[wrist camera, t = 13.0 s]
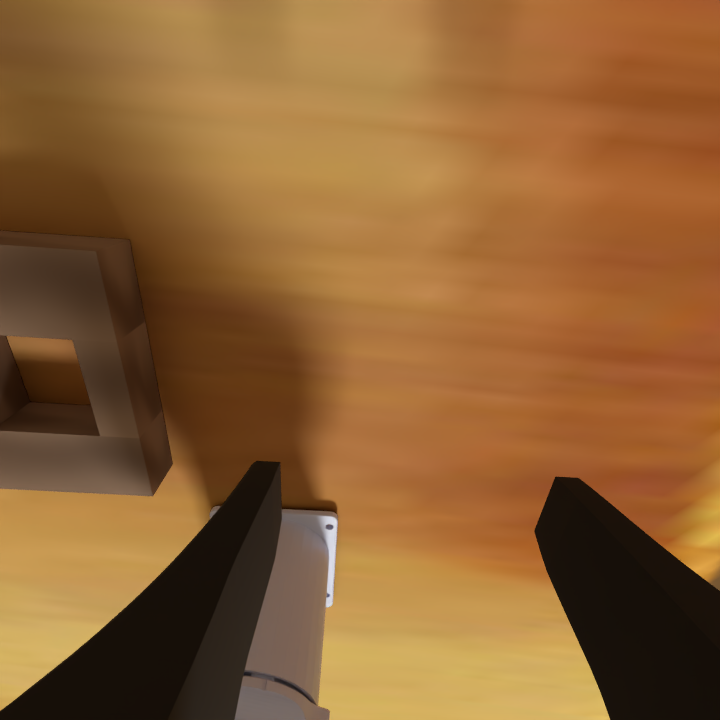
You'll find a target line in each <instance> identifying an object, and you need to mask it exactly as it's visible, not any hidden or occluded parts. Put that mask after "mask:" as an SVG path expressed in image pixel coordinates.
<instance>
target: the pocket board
mask: <svg viewBox="0 0 720 720" xmlns="http://www.w3.org/2000/svg"><path fill="white" fill-rule="evenodd" d="M6 336H19V337H36V338H52V339H68V340H73V344H74V347H75V351H76V354H77V358H78V361H79V365H80V368H81V371H82V375H83V378H84V382H85V385H86V389H87V392H88V396H89V399H90V403H91V406H89V405H71V404H54V403H36V402H30V401H29V398H28V395H27V393H26V390H25V387H24V385H23V382H22V379H21V376H20V374H19V371H18V368H17V366H16V363H15V360H14V358H13V355H12V352H11V349H10V347H9V344H8V341H7V339H6ZM172 464H173V463H172V458H171V453H170V448H169V443H168V437H167V432H166V427H165V422H164V417H163V411H162V406H161V401H160V396H159V391H158V385H157V380H156V375H155V370H154V365H153V359H152V354H151V349H150V344H149V339H148V333H147V328H146V323H145V318H144V313H143V307H142V302H141V297H140V292H139V287H138V281H137V276H136V271H135V266H134V261H133V255H132V250H131V245H130V240H129V239H115V238H100V237H86V236H71V235H57V234H42V233H28V232H13V231H0V489H18V490H38V491H58V492H78V493H98V494H118V495H138V496H153V495H154V494H155V492H156V490H157V489H158V487H159V485H160V484H161V482H162V481H163V479H164V477H165V476H166V474H167V473H168V471H169V469H170V468H171V466H172Z"/></svg>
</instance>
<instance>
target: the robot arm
mask: <svg viewBox="0 0 720 720" xmlns="http://www.w3.org/2000/svg"><path fill="white" fill-rule="evenodd" d="M328 524H331V525H328ZM337 525H338V515H337V514H336V513H334V512H331V511H312V510H292V509H282V504H281V472H280V462H268V461H256V462H254V463H253V464H252V465H251V467H250V468H249V470H248V471H247V473H246V474H245V475H244V477H243V478H242V480H241V481H240V482H239V484H238V485H237V486H236V488H235V489H234V490H233V492H232V493H231V494H230V495H229V497H228V498H227V499H226V501H225V502H224V503H223V504H222V506H215V507H213V508H212V509H211V512H210V520H209V521H208V523H207V524H206V525H205V526H204V527H203V529H202V530H201V531H200V532H199V533H198V534H197V535H196V536H195V538H194V539H193V540H192V541H191V542H190V543H189V544H188V545H187V546H186V547H185V549H184V550H183V551H182V552H181V553H180V554H179V555H178V556H177V557H176V558H175V559H174V561H173V562H172V563H171V564H170V565H169V566H168V567H167V568H166V569H165V570H164V571H163V572H162V573H161V574H160V575H159V576H158V577H157V578H156V579H155V580H154V581H153V582H152V583H151V584H150V585H149V586H148V587H147V588H146V589H145V590H144V591H143V592H142V593H141V594H139V595H138V596H137V597H136V598H135V599H134V600H133V601H132V602H131V603H130V604H129V605H128V606H127V607H126V608H125V609H123V610H122V611H121V612H120V613H119V614H118V615H117V616H116V617H114V618H113V619H112V620H111V621H110V622H109V623H108V624H107V625H106V626H104V627H103V628H102V629H101V630H100V631H99V632H98V633H97V634H95V635H94V636H93V637H92V638H91V639H90V640H88V641H87V642H86V643H85V644H84V645H83V646H81V647H80V648H79V649H78V650H77V651H75V652H74V653H73V654H72V655H71V656H69V657H68V658H67V659H66V660H64V661H63V662H62V663H61V664H59V665H58V666H57V667H56V668H54V669H53V670H52V671H51V672H49V673H48V674H47V675H46V676H44V677H43V678H42V679H40V680H39V681H38V682H37V683H35V684H34V685H33V686H32V687H30V688H29V689H28V690H27V691H25V692H24V693H23V694H22V695H20V696H19V697H18V698H17V699H15V700H14V701H13V702H12V703H10V704H9V705H8V706H6V707H5V708H4V709H2V710H1V711H0V720H329V715H330V711H329V710H328V709H325V708H322V707H319V706H318V700H319V687H320V674H321V661H322V648H323V635H324V622H325V609H326V607H330V606H332V604H333V592H334V575H335V558H336V542H337ZM535 535H536V538H537V542H538V545H539V548H540V552H541V555H542V558H543V561H544V564H545V567H546V570H547V572H548V575H549V577H550V579H551V582H552V584H553V586H554V588H555V591H556V593H557V595H558V597H559V600H560V602H561V604H562V606H563V609H564V611H565V613H566V615H567V617H568V620H569V622H570V624H571V626H572V628H573V630H574V633H575V635H576V637H577V639H578V641H579V644H580V646H581V648H582V650H583V652H584V655H585V657H586V659H587V661H588V663H589V666H590V668H591V670H592V673H593V675H594V677H595V680H596V682H597V685H598V687H599V689H600V692H601V695H602V697H603V700H604V703H605V706H606V709H607V711H608V714H609V717H610V720H720V591H719V590H718V589H716V588H715V587H714V586H712V585H711V584H710V583H708V582H707V581H706V580H704V579H703V578H702V577H700V576H699V575H698V574H696V573H695V572H694V571H693V570H691V569H690V568H689V567H687V566H686V565H685V564H683V563H682V562H681V561H680V560H678V559H677V558H676V557H675V556H673V555H672V554H671V553H670V552H668V551H667V550H666V549H665V548H663V547H662V546H661V545H660V544H658V543H657V542H656V541H655V540H653V539H652V538H651V537H650V536H649V535H647V534H646V533H645V532H644V531H643V530H641V529H640V528H639V527H638V526H636V525H635V524H634V523H633V522H632V521H630V520H629V519H628V518H627V517H626V516H624V515H623V514H622V513H621V512H620V511H619V510H617V509H616V508H615V507H614V506H613V505H611V504H610V503H609V502H608V501H607V500H605V499H604V498H603V497H602V496H600V495H599V494H598V493H597V492H596V491H594V490H593V489H592V488H591V487H589V486H588V485H587V484H586V483H584V482H583V481H582V480H580V479H579V478H570V477H555V479H554V482H553V484H552V487H551V489H550V492H549V495H548V497H547V500H546V502H545V505H544V507H543V510H542V513H541V515H540V518H539V520H538V523H537V525H536V528H535Z"/></svg>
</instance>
